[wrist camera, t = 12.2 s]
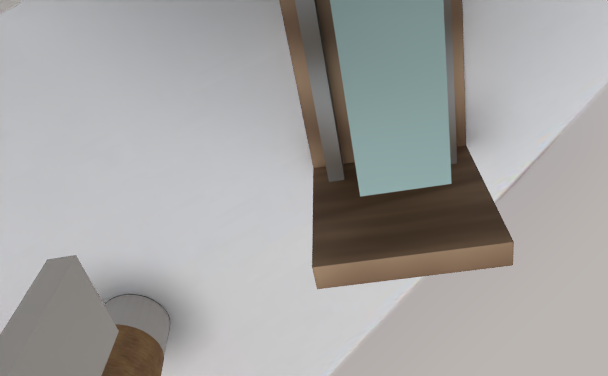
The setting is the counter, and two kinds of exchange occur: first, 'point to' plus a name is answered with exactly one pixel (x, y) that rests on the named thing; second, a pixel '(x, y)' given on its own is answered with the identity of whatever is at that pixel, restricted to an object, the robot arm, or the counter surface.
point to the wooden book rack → (394, 205)
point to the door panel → (395, 91)
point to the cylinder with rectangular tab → (8, 4)
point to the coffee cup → (137, 336)
